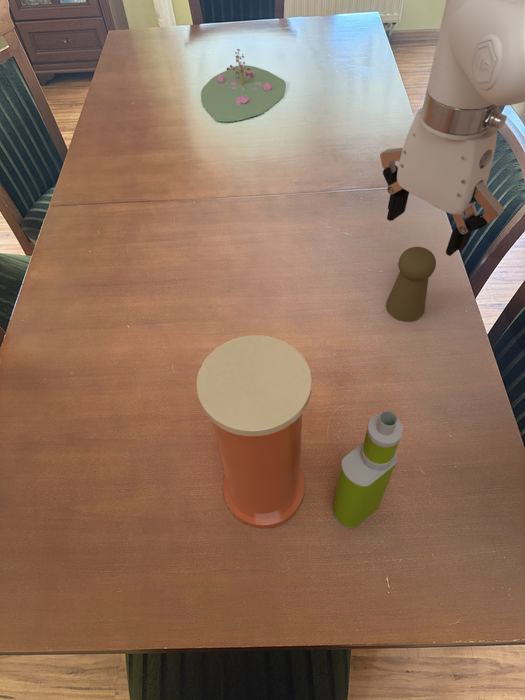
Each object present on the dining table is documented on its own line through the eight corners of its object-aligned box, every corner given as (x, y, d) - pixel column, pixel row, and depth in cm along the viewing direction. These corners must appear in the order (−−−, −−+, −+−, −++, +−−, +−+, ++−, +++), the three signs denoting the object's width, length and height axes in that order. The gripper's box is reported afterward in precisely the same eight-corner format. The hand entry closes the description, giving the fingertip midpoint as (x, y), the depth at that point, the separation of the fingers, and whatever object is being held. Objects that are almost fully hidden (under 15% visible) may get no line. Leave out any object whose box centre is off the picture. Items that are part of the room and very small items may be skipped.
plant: (284, 122, 115) (284, 81, 108) (194, 124, 116) (188, 83, 109) (285, 71, 131) (285, 32, 123) (205, 73, 132) (201, 34, 124)
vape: (385, 502, 61) (419, 420, 46) (348, 533, 59) (371, 458, 43) (363, 479, 63) (389, 392, 47) (327, 508, 61) (341, 428, 45)
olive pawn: (419, 326, 78) (435, 274, 69) (380, 314, 80) (392, 262, 71) (429, 299, 81) (446, 246, 72) (392, 288, 83) (404, 235, 74)
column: (314, 518, 61) (326, 416, 42) (231, 537, 60) (205, 442, 41) (293, 443, 67) (295, 325, 48) (218, 460, 66) (189, 346, 47)
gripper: (551, 125, 53) (496, 250, 66) (415, 70, 61) (391, 192, 74) (510, 155, 50) (461, 279, 63) (374, 93, 58) (356, 215, 71)
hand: (423, 232), depth 69 cm, fingers open, 9 cm apart
